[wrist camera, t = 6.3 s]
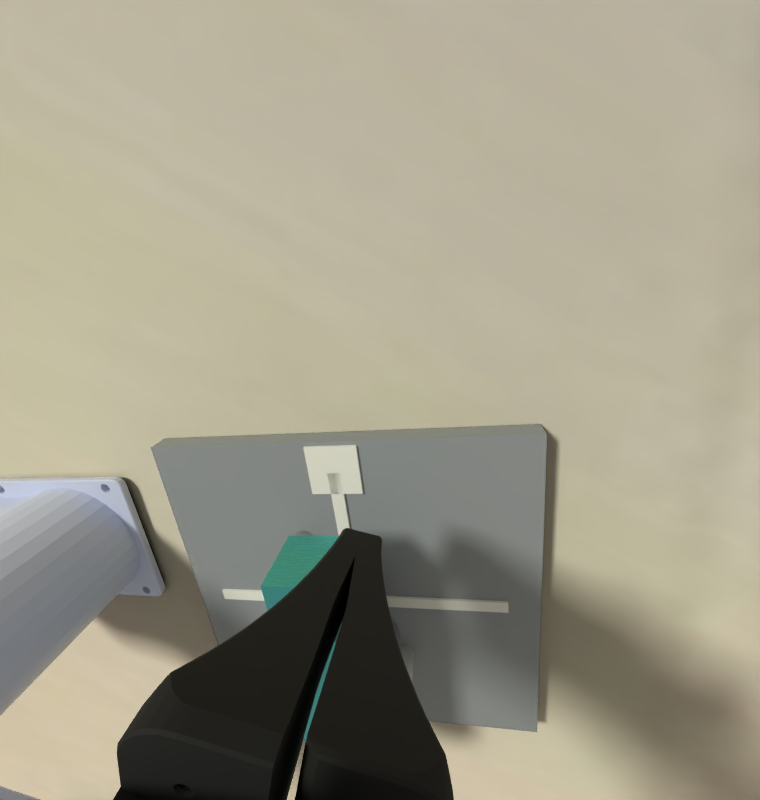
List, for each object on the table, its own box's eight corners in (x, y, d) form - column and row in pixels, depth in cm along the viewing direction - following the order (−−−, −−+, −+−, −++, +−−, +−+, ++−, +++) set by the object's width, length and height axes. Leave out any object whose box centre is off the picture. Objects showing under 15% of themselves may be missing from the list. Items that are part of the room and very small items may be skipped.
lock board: (245, 685, 25) (211, 758, 22) (164, 438, 19) (98, 481, 16) (533, 712, 22) (550, 803, 18) (541, 424, 16) (569, 473, 12)
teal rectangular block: (413, 728, 20) (406, 827, 16) (320, 719, 21) (296, 810, 17) (383, 516, 15) (366, 589, 12) (268, 516, 16) (222, 584, 13)
